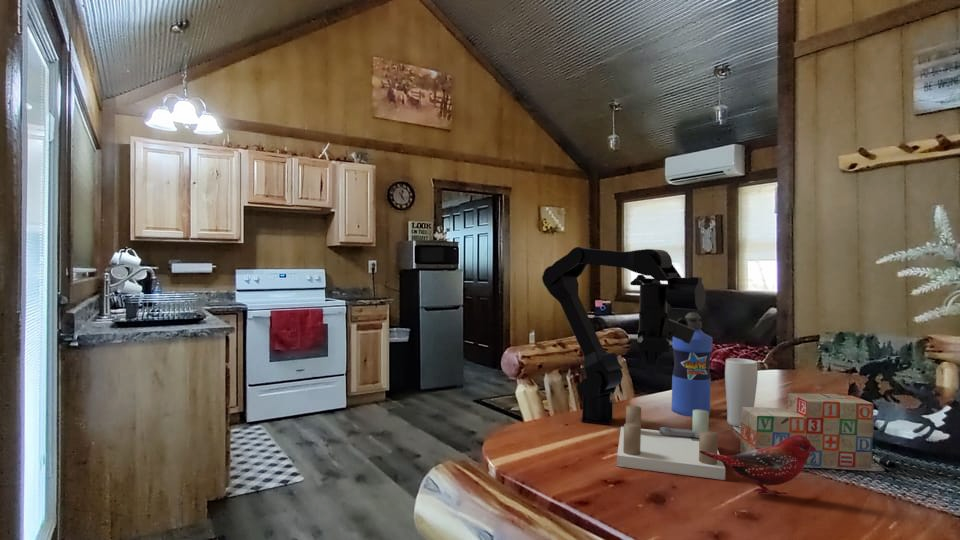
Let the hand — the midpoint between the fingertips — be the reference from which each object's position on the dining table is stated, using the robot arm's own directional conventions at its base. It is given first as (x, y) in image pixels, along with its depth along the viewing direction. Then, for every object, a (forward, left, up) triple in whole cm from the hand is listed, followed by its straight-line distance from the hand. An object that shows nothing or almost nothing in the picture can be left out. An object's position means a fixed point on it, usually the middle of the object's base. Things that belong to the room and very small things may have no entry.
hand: (651, 378), depth 115 cm
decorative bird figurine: (+16, -26, -12) cm, 33 cm away
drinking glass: (+20, +14, -12) cm, 27 cm away
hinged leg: (+6, -6, -10) cm, 13 cm away
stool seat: (+3, -13, -12) cm, 18 cm away
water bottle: (+10, +22, -12) cm, 27 cm away
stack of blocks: (+28, -6, -12) cm, 31 cm away
